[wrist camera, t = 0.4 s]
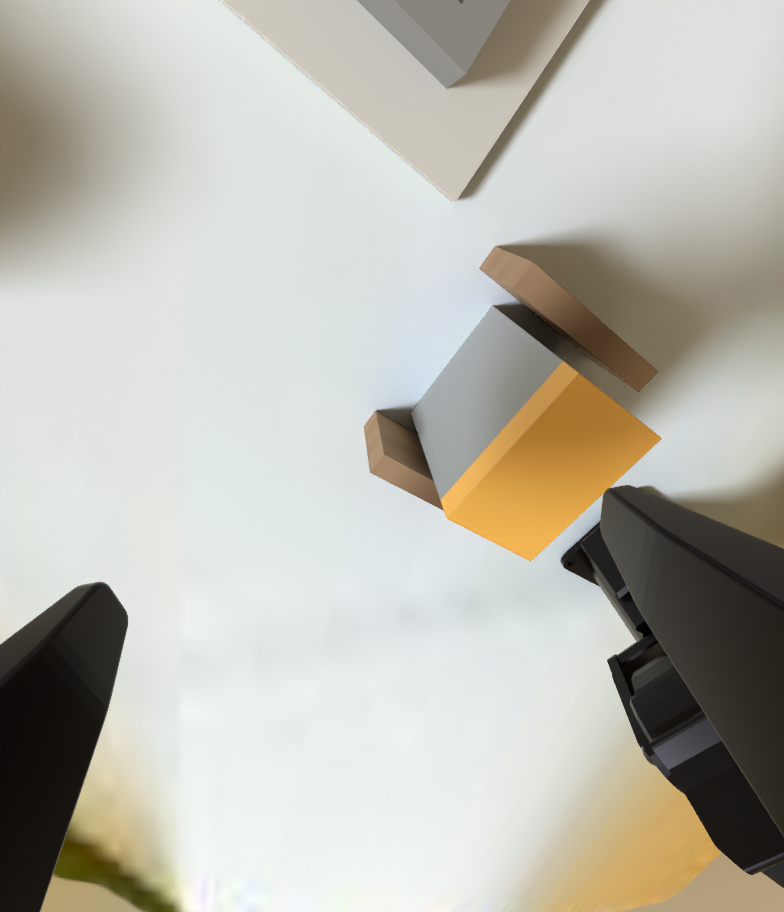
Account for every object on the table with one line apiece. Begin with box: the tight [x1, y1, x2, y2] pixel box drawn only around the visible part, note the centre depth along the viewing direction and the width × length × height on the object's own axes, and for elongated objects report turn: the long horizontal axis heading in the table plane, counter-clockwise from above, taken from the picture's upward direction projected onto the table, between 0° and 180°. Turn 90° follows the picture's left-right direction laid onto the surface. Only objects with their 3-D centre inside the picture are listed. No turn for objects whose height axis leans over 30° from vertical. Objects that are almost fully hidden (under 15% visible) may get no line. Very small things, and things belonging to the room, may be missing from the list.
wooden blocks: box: [364, 246, 658, 510], centre depth 20 cm, size 7×10×4 cm
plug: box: [411, 306, 662, 561], centre depth 18 cm, size 4×6×8 cm, turn 145°
